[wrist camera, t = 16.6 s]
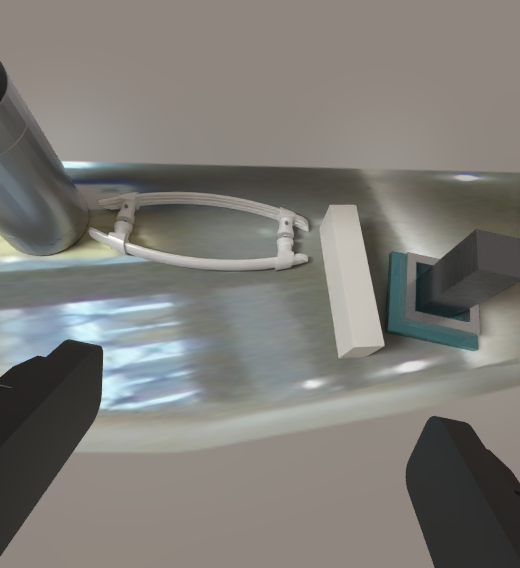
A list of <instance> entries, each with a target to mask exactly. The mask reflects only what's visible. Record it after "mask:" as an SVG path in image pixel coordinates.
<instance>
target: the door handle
mask: <svg viewBox="0 0 520 568" xmlns="http://www.w3.org/2000/svg"><path fill="white" fill-rule="evenodd" d="M98 203H99V205H100V206H102V207H104V209H110V210H116V209H121V210H120V212H118V215H117V218H116V220H117V221H116V222H115V225H114V230H115V232H114V233H113V232H109V235H107V234H105V233H103V232H101V231H99V230H96V229H94V228H92V227H90V228H89V235H90V236H91V237H92V238H93V239H95V240H97V241H99V242H101V243H103V244H105V245H108V246H110V248H111V249H113V250H116V251H118V252H120V253H123V254H125V255H128V254H132V255H135V256H138V257H141V258H144V259H148V260H152V261H156V262H160V263H164V264H169V265H175V266H180V267H186V268H194V269H203V270H219V271H246V270H262V269H271V268H275V271H276V270H281V269H286V268H291V266H292V265H297V264H301V263H305V262H308V256H306V255H305V254H301V253H299V254H294V252H291V251H292V248H293V243H294V241H293V240H292V239H293V238H294V231H293V230H292V225H293V226H295V227H298V228H300V229H302V230H305V231H307V232H309V226H308V222H307V220H306V219H305V218H304V217H302V216H299V215H296V214H295V212H293V211H290V210H288V209H285V208H282V207H280V209H279V208H276V207H273V206H270V205H266V204H263V203H259V202H255V201H251V200H246V199H241V198H236V197H231V196H224V195H217V194H208V193H196V192H155V193H142V194H140V193H139V192H131V193H124V194H120V195H119V196H117V197H112V198H106V199H100V200H98ZM158 204H197V205H210V206H218V207H225V208H231V209H237V210H242V211H247V212H251V213H255V214H259V215H263V216H266V217H269V218H273V219H276V220H278V225H279V230H278V234H277V237H278V240H277V248H278V254H277V257H273V258H264V259H248V260H218V259H203V258H194V257H187V256H180V255H175V254H170V253H164V252H160V251H156V250H152V249H148V248H144V247H141V246H138V245H135V244H131V243H130V242H129V240H128V237H129V234H131V232H132V229H133V227H132V225H133V224H134V220H135V217H134V213H135V210H136V211H138V210H139V207H140V206H145V205H158Z"/></svg>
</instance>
